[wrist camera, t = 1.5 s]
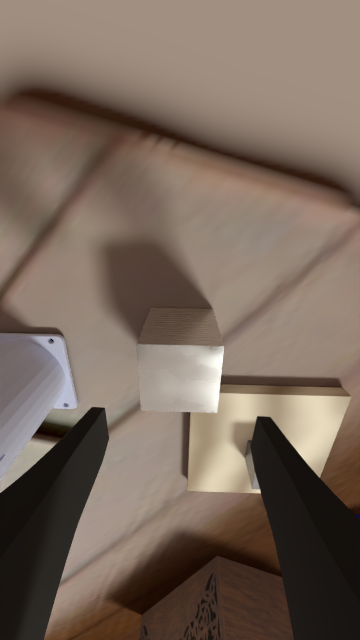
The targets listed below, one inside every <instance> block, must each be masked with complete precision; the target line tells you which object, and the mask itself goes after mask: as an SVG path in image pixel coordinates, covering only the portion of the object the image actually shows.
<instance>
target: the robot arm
mask: <svg viewBox="0 0 360 640" xmlns="http://www.w3.org/2000/svg"><path fill="white" fill-rule="evenodd" d="M50 339H53V341H54V342H53V341H51V340H50ZM66 403H67V404H66ZM77 405H78V401H77V397H76V392H75V387H74V382H73V378H72V373H71V368H70V363H69V359H68V354H67V349H66V344H65V340H64V337H63V336H61V335H59V334H25V333H0V481H1V480H2V478H3V477H4V475H5V474H6V473H7V471H8V470H9V468H10V467H11V466H12V464H13V463H14V461H15V460H16V458H17V457H18V456H19V454H20V453H21V451H22V450H23V449H24V447H25V446H26V444H27V443H28V442H29V440H30V439H31V437H32V436H33V434H34V433H35V432H36V430H37V429H38V427H39V426H40V425H41V423H42V422H43V420H44V419H45V418H46V416H47V415H48V413H49V412H50V410H51V409H52V408H56V409H75V408H76V407H77ZM108 440H109V435H108V428H107V420H106V413H105V408H99V407H92V408H91V409H90V410H89V411H88V412H87V413H86V414H85V415H84V416H83V417H82V418H81V419H80V420H79V421H78V422H77V423H76V424H75V426H74V427H73V428H72V429H71V430H70V431H69V432H68V433H67V434H66V435H65V436H64V437H63V438H62V439H61V440H60V441H59V442H58V443H57V444H56V445H55V446H54V447H53V448H52V449H51V450H50V451H49V452H47V453H46V454H45V455H44V456H43V457H42V458H41V459H40V460H39V461H38V462H37V463H36V464H35V465H33V466H32V467H31V468H30V469H29V470H28V471H27V472H25V473H24V474H23V475H22V476H21V477H20V478H18V479H17V480H16V481H15V482H14V483H12V484H11V485H10V486H9V487H7V488H6V489H5V490H4V491H2V492H1V493H0V640H44V636H45V633H46V629H47V625H48V622H49V618H50V615H51V611H52V608H53V604H54V600H55V597H56V593H57V590H58V587H59V583H60V580H61V576H62V573H63V570H64V566H65V563H66V560H67V556H68V553H69V550H70V547H71V544H72V540H73V537H74V534H75V531H76V528H77V525H78V522H79V520H80V517H81V514H82V512H83V509H84V507H85V504H86V502H87V499H88V497H89V494H90V492H91V489H92V487H93V484H94V482H95V479H96V477H97V474H98V472H99V469H100V467H101V464H102V461H103V458H104V455H105V451H106V447H107V444H108ZM250 447H251V453H252V459H253V464H254V469H255V473H256V477H257V481H258V484H259V488H260V491H261V495H262V498H263V501H264V505H265V508H266V512H267V515H268V519H269V522H270V526H271V529H272V533H273V537H274V541H275V545H276V550H277V555H278V559H279V564H280V569H281V574H282V579H283V584H284V589H285V594H286V599H287V605H288V610H289V615H290V621H291V626H292V632H293V638H294V640H360V519H359V518H358V517H357V516H356V515H355V514H354V513H353V512H352V511H351V510H350V509H349V508H348V507H347V506H346V505H345V504H344V503H343V502H342V501H341V500H340V499H339V498H338V497H337V496H336V495H335V494H334V493H333V492H332V491H331V490H330V489H329V488H328V487H327V485H326V484H325V483H324V482H323V481H322V480H321V479H320V478H319V477H318V475H317V474H316V473H315V472H314V471H313V470H312V469H311V467H310V466H309V465H308V464H307V463H306V461H305V460H304V459H303V458H302V457H301V455H300V454H299V453H298V452H297V450H296V449H295V448H294V447H293V445H292V444H291V443H290V442H289V440H288V439H287V438H286V436H285V435H284V434H283V433H282V431H281V430H280V429H279V427H278V426H277V425H276V423H275V422H274V421H273V419H272V418H271V417H265V416H257V419H256V423H255V428H254V433H253V437H252V442H251V446H250Z"/></svg>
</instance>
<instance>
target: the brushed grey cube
mask: <svg viewBox="0 0 360 640" xmlns="http://www.w3.org/2000/svg"><path fill="white" fill-rule="evenodd" d="M136 346H137V360H138V374H139V388H140V402H141V411H170V412H204V413H217V411H218V401H219V391H220V381H221V371H222V361H223V351H224V344H223V341H222V338H221V334H220V331H219V328H218V324H217V321H216V317H215V314H214V311H213V309H199V308H151V309H150V311H149V314H148V316H147V319H146V321H145V324H144V326H143V329H142V331H141V334H140V336H139V339H138V341H137V344H136Z"/></svg>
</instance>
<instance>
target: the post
mask: <svg viewBox="0 0 360 640" xmlns="http://www.w3.org/2000/svg"><path fill="white" fill-rule="evenodd" d="M251 442H252V440H248V442H247V447H246V453H245V462H246V466H247V470H248V474H249V478H250V483H251V487H252V489H260V488H259V484H258V481H257V477H256V473H255V469H254V464H253V459H252V453H251V447H250V446H251Z"/></svg>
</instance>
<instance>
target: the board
mask: <svg viewBox="0 0 360 640" xmlns="http://www.w3.org/2000/svg"><path fill="white" fill-rule="evenodd" d="M350 399H351V396H350V395H349V394H348V393H347V391H346V390H345V389H344V388H338V387H301V386H263V385H226V384H220V391H219V401H218V411H217V413H204V412H190V429H189V454H188V479H187V485H188V491H211V492H239V493H261V491H260V489H252V487H251V483H250V478H249V474H248V470H247V466H246V462H245V453H246V447H247V442H248V440H252V437H253V433H254V428H255V423H256V419H257V416H265V417H271V418H272V419H273V421H274V422H275V423H276V425H277V426H278V427H279V429H280V430H281V431H282V433H283V434H284V435H285V436H286V438H287V439H288V440H289V442H290V443H291V444H292V445H293V447H294V448H295V449H296V450H297V452H298V453H299V454H300V455H301V457H302V458H303V459H304V460H305V461H306V463H307V464H308V465H309V466H310V467H311V469H312V470H313V471H314V472H315V473H316V474H317V475H318V477H319V478H320V476H321V473H322V471H323V468H324V465H325V463H326V460H327V458H328V455H329V453H330V450H331V448H332V445H333V442H334V440H335V437H336V435H337V432H338V430H339V427H340V425H341V422H342V419H343V417H344V414H345V412H346V409H347V407H348V404H349V402H350Z"/></svg>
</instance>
